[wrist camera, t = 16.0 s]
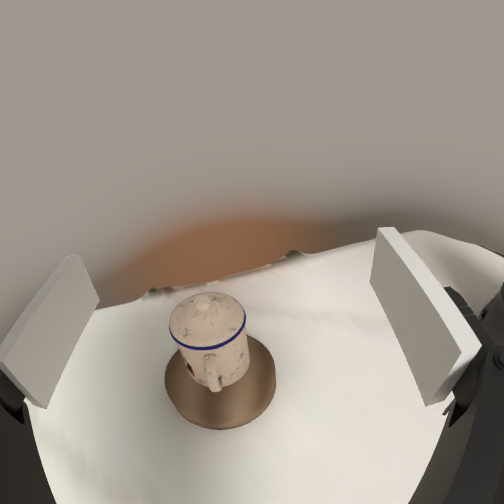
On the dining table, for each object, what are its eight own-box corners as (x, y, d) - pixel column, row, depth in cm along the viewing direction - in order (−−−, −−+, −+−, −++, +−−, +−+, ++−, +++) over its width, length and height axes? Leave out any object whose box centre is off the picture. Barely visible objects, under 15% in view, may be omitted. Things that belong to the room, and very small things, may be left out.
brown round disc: (273, 341, 43) (272, 328, 42) (278, 427, 31) (278, 418, 29) (180, 345, 44) (175, 332, 43) (163, 426, 31) (155, 416, 30)
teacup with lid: (187, 342, 41) (166, 280, 35) (247, 334, 41) (238, 270, 35) (185, 412, 30) (153, 355, 24) (259, 404, 31) (251, 344, 25)
